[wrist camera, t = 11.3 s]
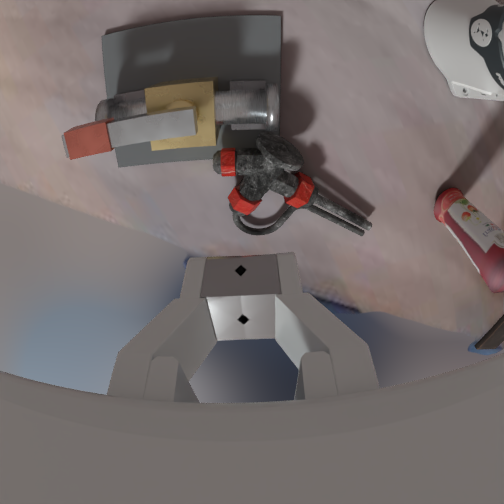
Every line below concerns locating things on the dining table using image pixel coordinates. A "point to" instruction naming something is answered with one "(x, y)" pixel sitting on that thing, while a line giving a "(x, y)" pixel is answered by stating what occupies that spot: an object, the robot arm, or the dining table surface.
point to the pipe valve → (201, 107)
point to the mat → (193, 69)
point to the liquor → (474, 236)
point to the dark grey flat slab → (493, 336)
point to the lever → (129, 131)
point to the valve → (276, 183)
